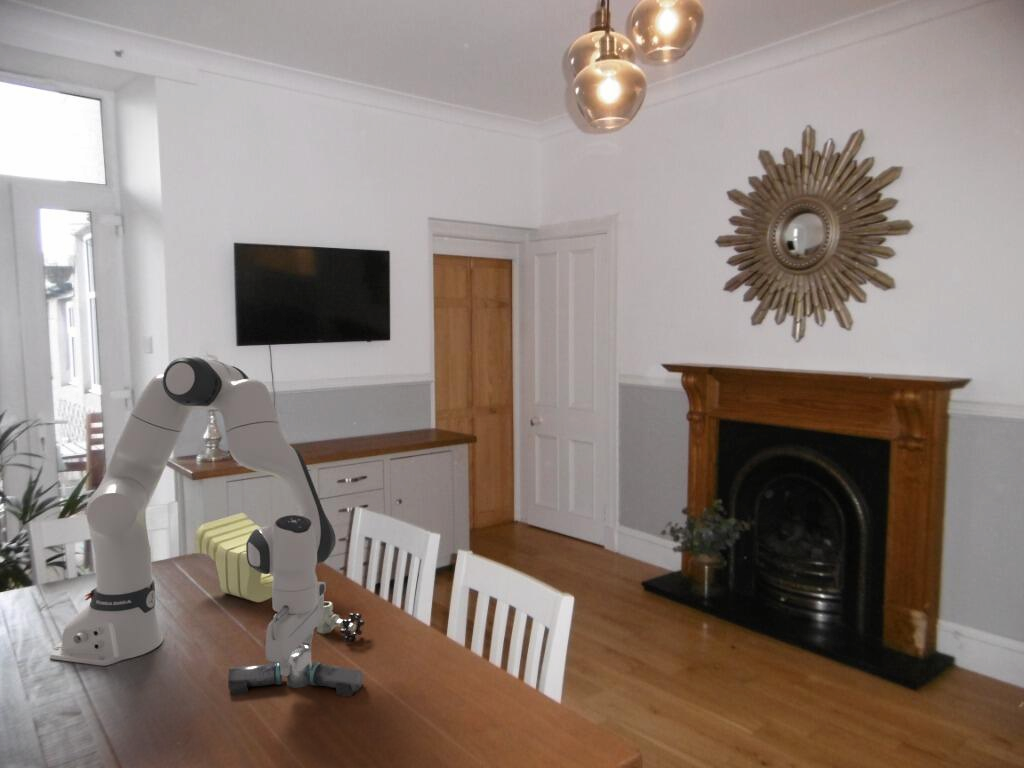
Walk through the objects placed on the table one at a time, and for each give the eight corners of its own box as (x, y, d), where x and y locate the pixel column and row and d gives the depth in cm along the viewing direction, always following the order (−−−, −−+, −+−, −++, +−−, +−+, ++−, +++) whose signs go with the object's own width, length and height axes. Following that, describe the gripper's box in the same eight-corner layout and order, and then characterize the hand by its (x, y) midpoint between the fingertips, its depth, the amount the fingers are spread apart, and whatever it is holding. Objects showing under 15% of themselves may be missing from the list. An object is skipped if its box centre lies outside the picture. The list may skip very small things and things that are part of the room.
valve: (308, 633, 170) (343, 647, 164) (307, 606, 170) (342, 619, 163) (329, 623, 176) (364, 636, 169) (329, 597, 175) (364, 609, 168)
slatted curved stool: (197, 590, 197) (194, 526, 195) (245, 572, 210) (242, 512, 209) (273, 613, 182) (271, 544, 180) (320, 592, 195) (318, 528, 193)
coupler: (305, 688, 145) (304, 660, 145) (282, 686, 146) (281, 658, 146) (316, 676, 150) (315, 648, 150) (293, 674, 151) (292, 647, 151)
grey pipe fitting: (228, 695, 143) (227, 674, 142) (232, 682, 148) (231, 662, 147) (281, 689, 145) (280, 668, 145) (283, 677, 150) (282, 656, 149)
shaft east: (364, 685, 147) (364, 664, 146) (352, 697, 142) (351, 676, 142) (321, 677, 150) (320, 657, 149) (307, 689, 145) (307, 668, 144)
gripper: (287, 619, 135) (289, 689, 137) (328, 580, 156) (329, 641, 157) (256, 617, 136) (257, 687, 138) (300, 578, 156) (302, 639, 158)
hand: (296, 662), depth 147 cm, fingers open, 8 cm apart
